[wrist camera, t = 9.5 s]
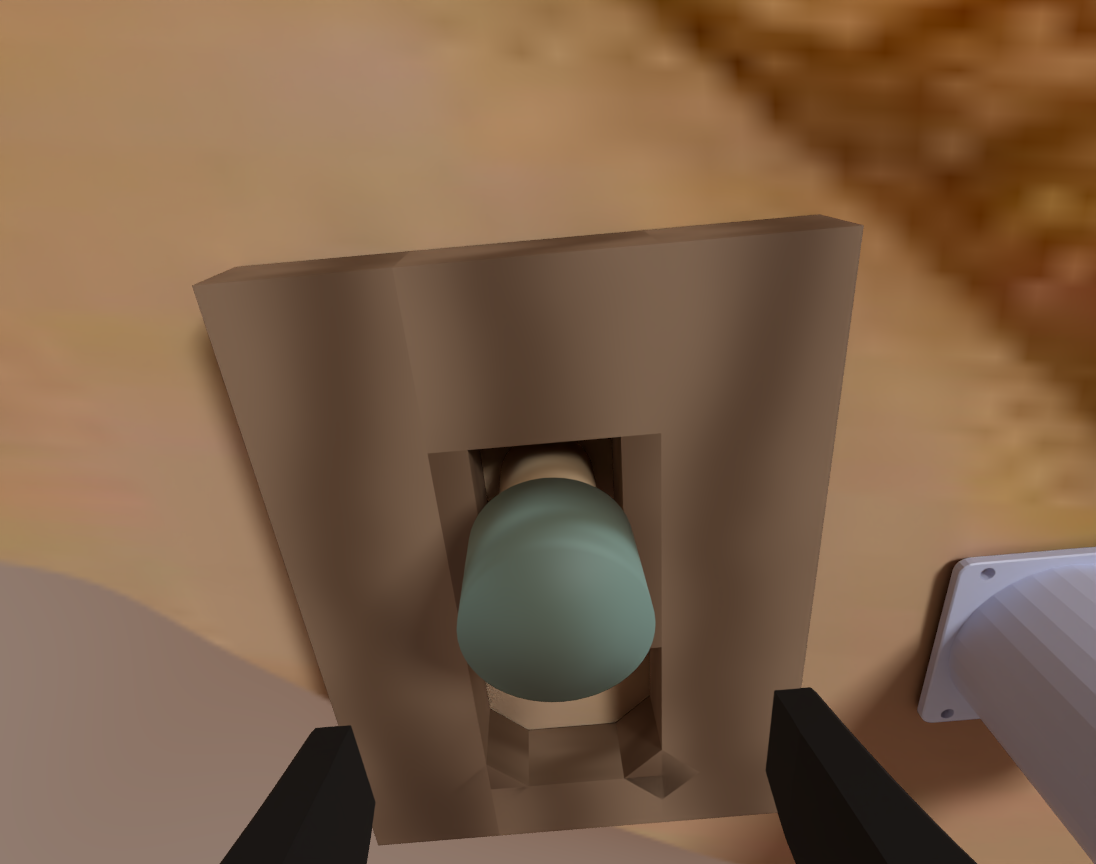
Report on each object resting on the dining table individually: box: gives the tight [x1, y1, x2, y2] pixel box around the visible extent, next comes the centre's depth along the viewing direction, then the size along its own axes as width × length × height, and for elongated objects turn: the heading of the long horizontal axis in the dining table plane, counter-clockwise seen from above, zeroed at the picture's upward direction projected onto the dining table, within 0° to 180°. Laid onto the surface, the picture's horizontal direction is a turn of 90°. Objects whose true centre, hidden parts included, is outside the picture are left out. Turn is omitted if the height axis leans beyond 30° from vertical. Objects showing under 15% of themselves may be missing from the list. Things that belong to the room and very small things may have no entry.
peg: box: [457, 441, 656, 702], centre depth 17 cm, size 4×4×7 cm
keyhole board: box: [192, 215, 864, 845], centre depth 20 cm, size 16×22×2 cm
